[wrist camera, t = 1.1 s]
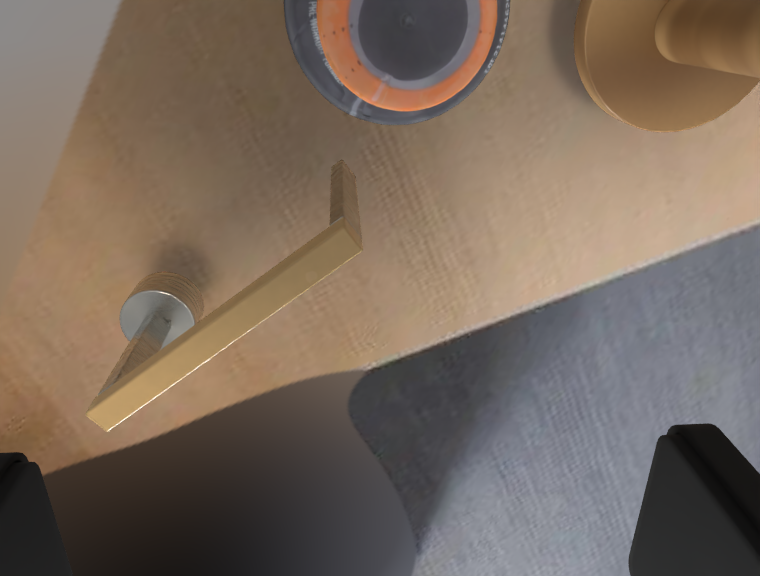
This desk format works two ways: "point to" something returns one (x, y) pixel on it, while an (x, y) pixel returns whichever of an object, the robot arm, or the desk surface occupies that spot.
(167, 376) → the wood-topped metal bracket
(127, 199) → the desk surface
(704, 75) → the stand
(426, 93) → the pill bottle
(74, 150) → the desk surface
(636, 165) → the desk surface
